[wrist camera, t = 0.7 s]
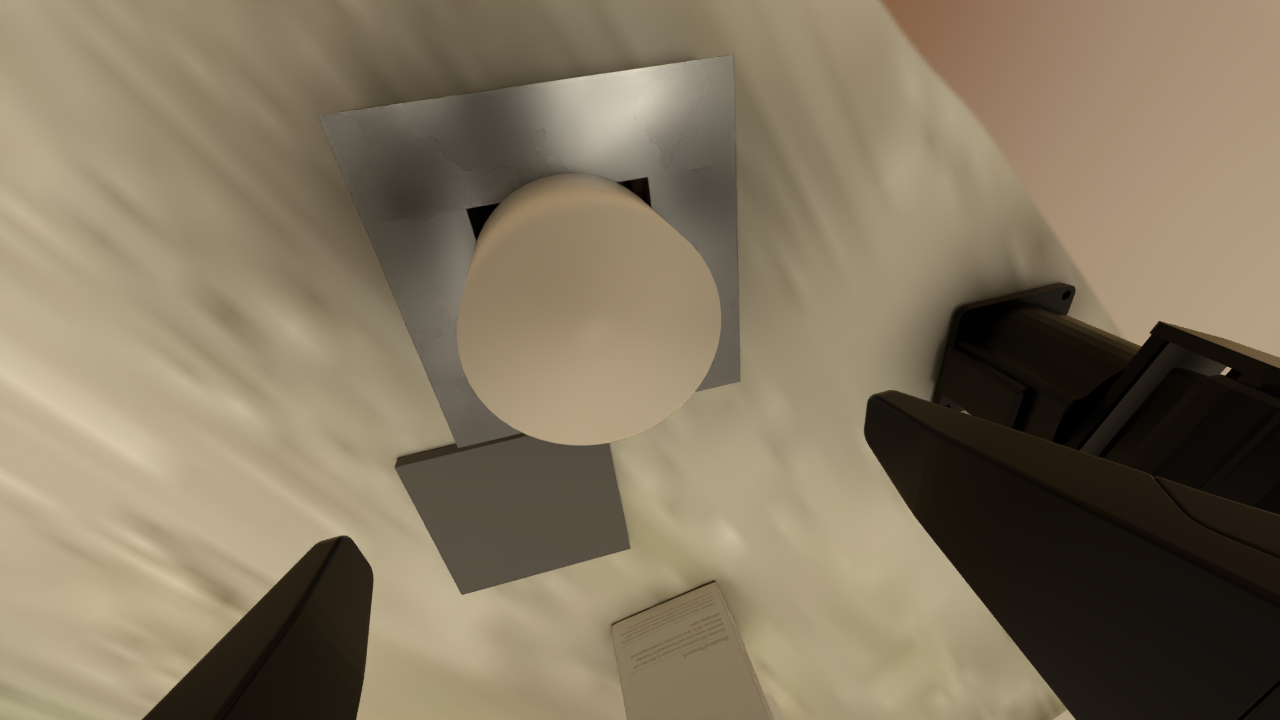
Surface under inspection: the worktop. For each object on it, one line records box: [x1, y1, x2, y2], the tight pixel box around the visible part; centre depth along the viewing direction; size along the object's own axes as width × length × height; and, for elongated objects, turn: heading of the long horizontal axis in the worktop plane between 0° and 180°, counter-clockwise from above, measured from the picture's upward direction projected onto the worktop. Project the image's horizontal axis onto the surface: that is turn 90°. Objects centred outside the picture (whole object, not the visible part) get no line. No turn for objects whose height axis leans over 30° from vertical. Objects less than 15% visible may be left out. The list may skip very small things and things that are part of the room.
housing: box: [318, 55, 740, 448], centre depth 17 cm, size 11×11×3 cm
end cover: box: [457, 173, 721, 445], centre depth 15 cm, size 6×6×7 cm
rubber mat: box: [395, 433, 631, 595], centre depth 23 cm, size 9×9×1 cm
